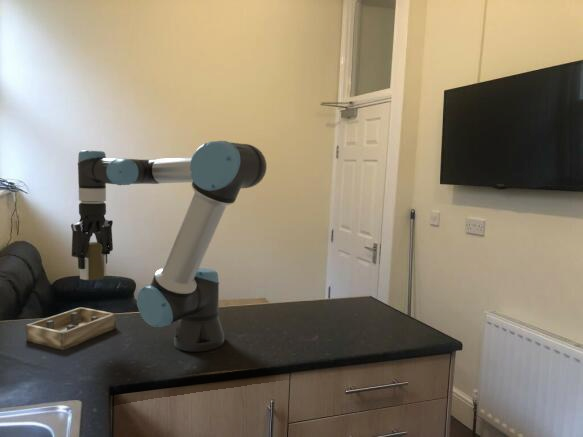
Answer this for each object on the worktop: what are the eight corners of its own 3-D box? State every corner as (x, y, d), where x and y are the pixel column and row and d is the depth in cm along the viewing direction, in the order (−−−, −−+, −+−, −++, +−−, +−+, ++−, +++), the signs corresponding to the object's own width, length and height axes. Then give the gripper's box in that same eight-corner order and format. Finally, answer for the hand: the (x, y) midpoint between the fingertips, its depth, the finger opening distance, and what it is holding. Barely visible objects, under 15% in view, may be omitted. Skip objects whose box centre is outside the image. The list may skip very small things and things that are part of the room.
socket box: (116, 328, 147) (115, 313, 146) (63, 349, 129) (62, 333, 128) (81, 321, 153) (80, 307, 153) (26, 340, 135) (25, 324, 134)
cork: (108, 275, 139) (107, 241, 137) (97, 280, 133) (97, 244, 132) (89, 274, 139) (89, 240, 138) (78, 279, 133) (78, 243, 132)
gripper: (107, 199, 143) (108, 269, 146) (55, 203, 126) (57, 281, 129) (125, 201, 140) (125, 272, 143) (74, 205, 123) (75, 285, 126)
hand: (93, 276), depth 136 cm, fingers closed on cork, 6 cm apart
